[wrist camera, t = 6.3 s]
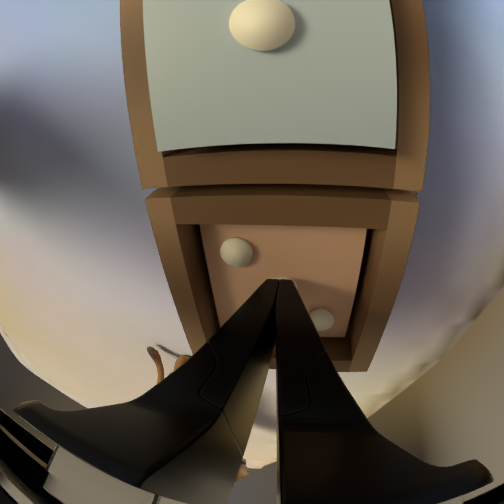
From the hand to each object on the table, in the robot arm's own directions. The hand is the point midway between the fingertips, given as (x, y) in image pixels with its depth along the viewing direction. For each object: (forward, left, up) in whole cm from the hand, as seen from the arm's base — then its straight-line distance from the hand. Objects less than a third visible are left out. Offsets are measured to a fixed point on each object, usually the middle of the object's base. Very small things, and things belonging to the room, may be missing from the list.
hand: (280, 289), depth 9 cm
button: (-5, +5, -1) cm, 8 cm away
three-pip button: (0, 0, -2) cm, 2 cm away
